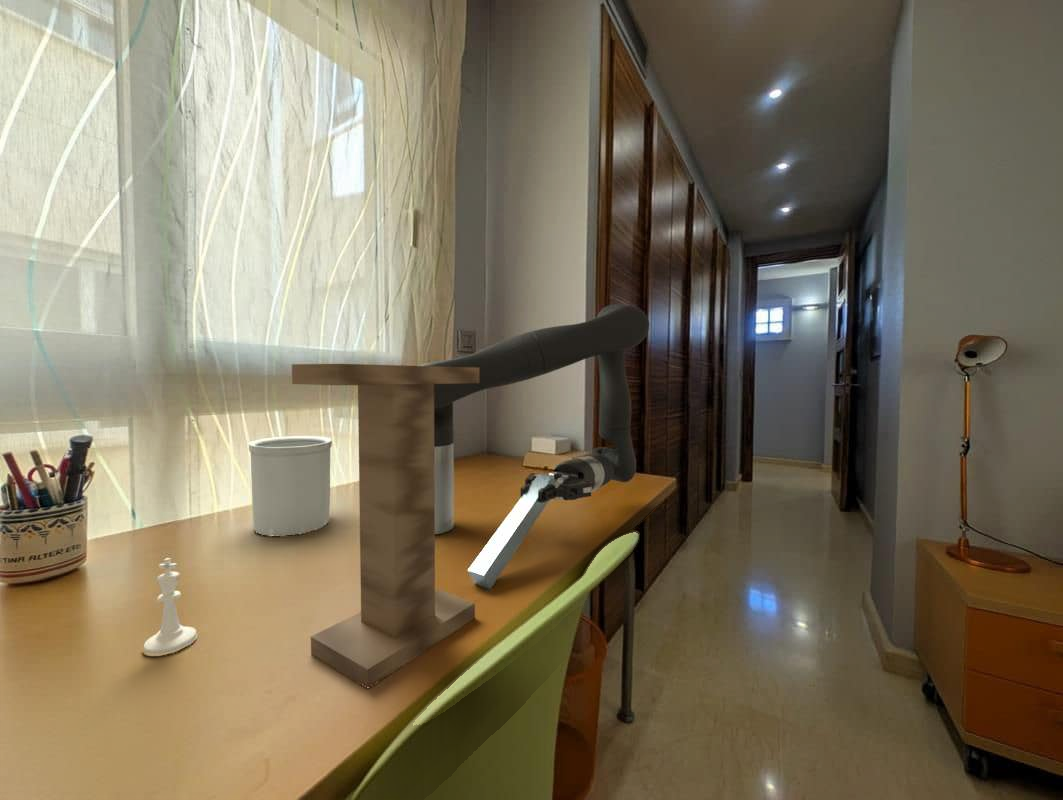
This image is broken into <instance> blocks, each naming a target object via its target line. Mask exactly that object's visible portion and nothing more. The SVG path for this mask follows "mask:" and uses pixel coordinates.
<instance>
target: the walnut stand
mask: <svg viewBox="0 0 1063 800" xmlns="http://www.w3.org/2000/svg"><path fill="white" fill-rule="evenodd" d="M291 383H292V385H310V386H313V385H315V386H316V385H317V386H357V406H358V407H357V408H358V410H357V412H358V413H357V416H358V417H357V419H358V421H357V422H358V423H357V424H358V481H359V482H358V483H359V484H358V487H359V490H358V491H359V495H358V496H359V498H358V499H359V500H358V501H359V547H360V548H359V557H360V558H359V559H360V560H359V563H360V565H359V566H360V612H358V613H355V614H353V615H352V616H350V617H348V618H346V619H344V620H342V621H339V622H338V623H336V624H334V625H333V624H332V625H331V626H330V627H328V628H327V627H326V629H324V630H320V631H318V632H317V633H315V634H313V635H311V636H310V655H312V656H313V657H315V658H317V660H320V661H322V662H323V663H325V664H326V665H329V667H331V668H333V669H335V670H336V671H338V672H339V673H341V674H343V675H344V676H346V677H347V676H348V677H347V678H349V677H350V679H351V680H352V679H354V680H355V681H354V680H353V681H354V682H356V681H357V682H359V683H361V684H363V685H364V686H366V687H370V686H371V685H373V684H375V683H376V682H378V681H379V682H381V681H382V680H384V679H385V678H384V677H386V676H387V677H389V676H390V675H391V673H392V674H393V673H395V672H396V671H398V670H399V669H401V668H402V667H403V666H406V665H407V664H408V663H410V662H412V661H413V660H414V659H416V658H417V657H419V656H420V655H422V654H423V653H425V652H426V651H427V650H429V649H430V648H432V647H434V646H435V645H437V644H438V643H440V642H441V641H443V640H444V639H446V638H447V637H448V636H451V635H452V634H453V633H455V632H456V631H458V630H460V629H461V628H462V627H464V626H465V625H467V624H468V623H470V622H472V621H473V620H474V619H475V618H476V602H473V601H470V600H468V599H465V598H462V597H461V596H457V595H456V594H451V593H449V592H447V591H444V590H441V589H438V588H436V565H435V564H436V562H435V561H436V559H435V558H436V553H435V552H436V551H435V549H436V548H435V547H436V546H435V545H436V541H435V540H436V538H435V537H436V534H435V494H434V384H457V383H479V368H475V367H438V366H419V365H403V364H401V365H398V364H393V365H392V364H391V365H390V364H363V363H361V364H359V363H311V364H310V363H308V364H307V363H306V364H304V363H301V364H300V363H298V364H295V363H294V364H293V363H292V364H291ZM406 663H407V664H406ZM401 666H402V667H401ZM400 667H401V668H400ZM398 668H399V669H398ZM397 669H398V670H397ZM394 671H395V672H394ZM388 675H389V676H388ZM387 677H386V678H387ZM383 678H384V679H383ZM381 679H382V680H381ZM380 680H381V681H380ZM357 682H356V683H357ZM379 682H378V683H379ZM359 683H358V684H359ZM376 684H377V683H376ZM376 684H375V685H376ZM364 686H363V687H364ZM373 686H374V685H373ZM370 688H371V687H370Z"/></svg>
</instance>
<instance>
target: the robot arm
mask: <svg viewBox="0 0 1063 800" xmlns="http://www.w3.org/2000/svg"><path fill="white" fill-rule="evenodd" d="M649 330H650V321H649V318H648V316H647V314H646V313H645V312H644V311H643V310H642V309H641V308H639V307H637V306H635V305H631V304H609V305H607V306H605V307H603V308H602V309H600V311H599V312H598V313H597V315H596V317H595V318H591V319H590V320H587V321H584V322H580V323H575V324H566V325H559V326H558V325H557V326H550V327H545V328H544V327H543V328H540V329H535V330H531V331H528V332H524V333H521V334H517V335H514V336H512V337H509V338H506V339H504V340H501V341H498V342H496V343H494V344H492V345H489V346H488V347H485V348H483V349H480V350H479V351H476V352H474V353H471V354H468V355H464V356H461V357H455V358H451V359H445V360H440V361H436V362H435V361H434V362H426V363H422V364H418V366H438V367H475V368H479V383H457V384H434V494H435V535H439V534H444V533H446V532H449V531H451V530H452V529H453V528H454V524H455V522H454V520H455V519H454V518H455V517H454V515H455V512H454V509H455V506H454V505H455V502H454V501H455V496H454V495H455V494H454V493H455V492H454V491H455V490H454V489H455V487H454V486H455V485H454V483H455V481H454V480H455V479H454V476H455V475H454V474H455V473H454V471H455V470H454V469H455V468H454V464H455V463H454V460H455V459H454V451H455V450H454V449H455V448H454V433H455V432H454V412H453V411H454V402H456V401H458V400H461V399H463V398H465V397H469V396H470V395H472V394H475V393H477V392H481V391H484V390H488V389H493V388H497V387H504V386H509V385H513V384H516V383H520V382H524V381H528V380H531V379H533V378H537V377H540V376H543V375H546V374H549V373H552V372H554V371H557V370H560V369H562V368H565V367H568V366H571V365H573V364H577V363H579V362H581V361H584V360H586V359H589V358H593V357H595V356H597V359H598V371H599V413H598V414H599V419H598V423H599V424H598V434H599V437H600V438H601V439H603V440H605V441H606V442H608V443H610V444H612V445H613V446H614V448H611V447H605V446H599V447H595V448H594V449H593V450H592V452H590V454H589V455H585V456H579V457H575V458H572V459H568V460H565V461H562V462H560V463H558V464H557V465H556V466H555V468H554V470H553V471H552V472H549V473H547V474H548V475H554V479H555V482H556V483H554V484H553V486H548V487H544V488H542V489H539V491H538V501H539V502H541V503H544V502H546V501H548V500H549V501H551V500H556V501H557V500H559V499H561V500H564V501H575V500H579V499H581V498H582V499H583V498H589V497H592V493H593V492H594V491H596V490H598V489H599V488H601V487H603V486H605V485H607V484H608V483H610V482H611V481H612V480H613V481H616V482H619V483H628V482H630V481H631V480H632V479H633V478H634V477H635V474H636V472H637V458H636V454H635V450H634V446H633V440H632V435H631V425H632V424H631V423H632V397H631V393H630V389H629V383H628V379H627V372H626V352H627V351H626V350H629V349H633V348H635V347H636V346H638V345H639V344H641V343H642V342H643V341H644V339H645V338H646V337H647V335H648V333H649ZM537 475H538V474H536V473H534V472H531V473H529V474H528V475H527V477H526V478H525V480H524V485H523V486H521V487H520V498H521V497H522V496H523V494H525V492H526V491H527V489H528V488H529V487H530V485H531V484H532V482H533V481H534V479H535V478H536V477H537Z"/></svg>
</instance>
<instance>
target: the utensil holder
mask: <svg viewBox="0 0 1063 800" xmlns="http://www.w3.org/2000/svg"><path fill="white" fill-rule="evenodd" d="M332 445H333V440H332V439H331V438H330V437H324V436H317V435H316V436H314V435H313V436H312V435H311V436H310V435H296V436H295V435H294V436H291V435H290V436H279V437H269V438H268V437H267V438H261V439H256V440H253V441H250V442H249V444H248V451H249V453H250V474H251V475H250V477H251V478H250V479H251V504H252V505H251V507H252V508H251V510H252V524H253V525H252V526H253V531H254V530H255V531H256V532H257V533H259V534H264V535H274V536H277V535H278V536H280V537H286V536H285V535H293V536H295V535H294V534H299V533H304V534H306V533H305V532H308V533H310V532H309V531H312V530H315V529H318V528H320V529H321V527H322V528H324V527H325V526H327V525H326V524H327V523H328V524H329V522H330V505H331V503H330V502H331V448H332ZM324 525H325V526H324ZM323 526H324V527H323ZM318 530H319V529H318ZM255 531H254V532H255ZM315 531H316V530H315ZM312 532H313V531H312ZM257 533H256V534H257ZM259 534H258V535H259ZM283 535H284V536H283ZM299 535H300V534H299Z"/></svg>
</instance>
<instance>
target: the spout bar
mask: <svg viewBox="0 0 1063 800" xmlns="http://www.w3.org/2000/svg"><path fill="white" fill-rule="evenodd" d="M548 474H549V473H540V472H539V473H537V474H536V475H537V477H536V478H535V479H534V481H533V482H532V484H531V485H530V487H529V488H528V489H527V491H526V492H525V494H523V496H522V497H521V496H520V499H519V500H518V501H517V503H516V504H515V505H514V507H513V508H512V509H511V511H510V512H509V513H508V515H507V516H506V517H505V519H504V520H503V521H502V523H501V524H500V526H499V527H498V528H497V530H496V531H495V532H494V534H493V535H492V536H491V538H490V539H489V541H487V544H486V545H485V546H484V547H483V549H482V551H481V552H480V553H479V554H478V556H477V557H476V558H475V560H474V561H473V562H472V564H471V565H470V567H469V568H468V569H467V572H468V573H469V576H470V577H471V580H472V582H473V584H474V585H476V586H480V587H482V588H486V589H489V590H491V589H492V587H493V586H494V584H495V583H496V581H497V580H498V578H499V577H500V576H501V574H502V572H503V571H504V569H505V568H506V567H507V565H508V563H509V562H510V560H511V558H512V557H513V556H514V554H515V553H516V552H517V550H518V549H519V547H520V546H521V543H522V542H523V541H524V539H525V538H526V537H527V535H528V534H529V531H530V530H531V528H532V527H533V526H534V524H535V523H536V521H537V519H538V518H539V517H540V515H541V514H542V512H544V509H545V508H546V506H547V505H548V503H549V502H550V500H548V501H546V502H544V503H541V502H539V501H538V491H539V489H542V488H544V487H548V486H553V484H554V483H556V482H555V479H554V475H548Z"/></svg>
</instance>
